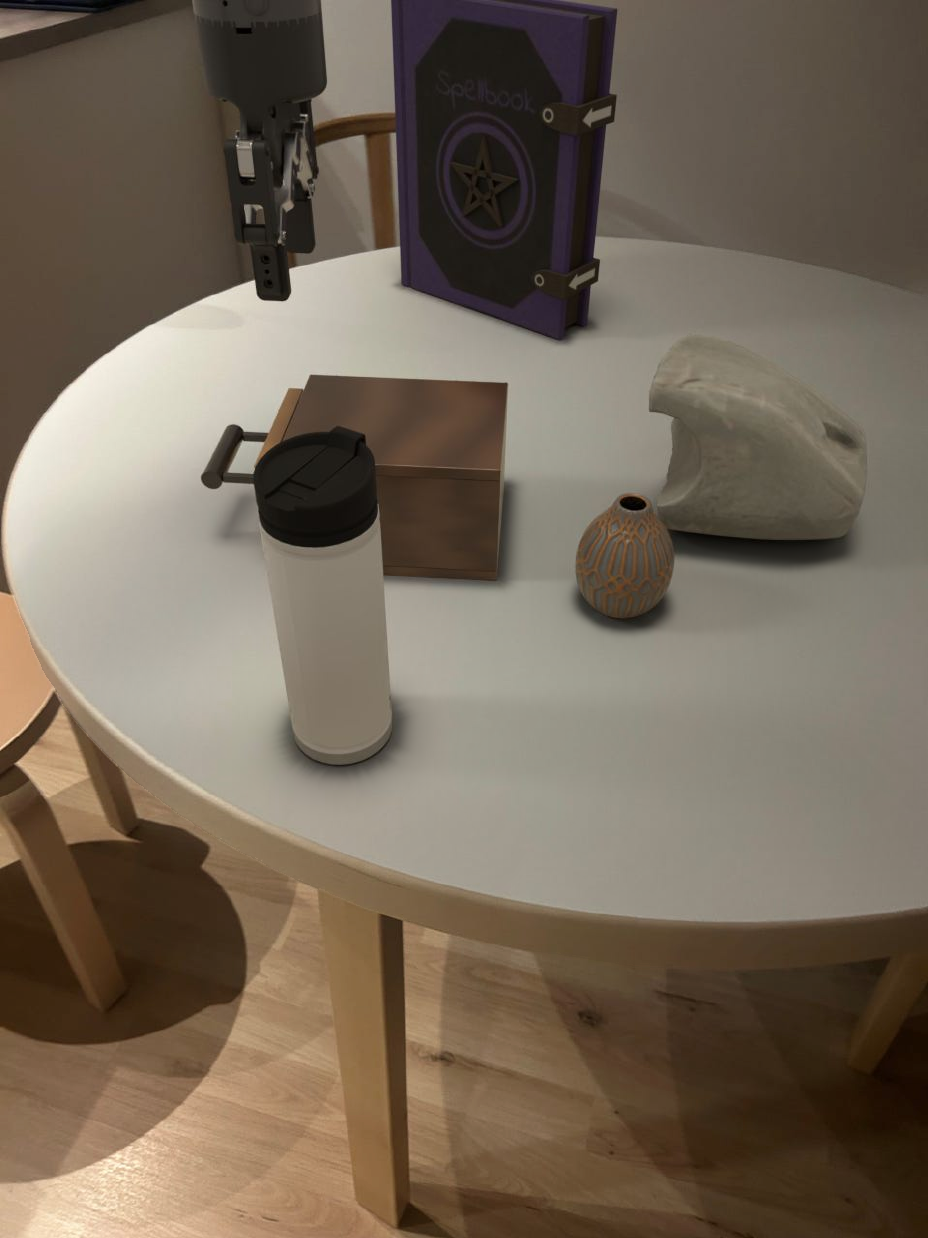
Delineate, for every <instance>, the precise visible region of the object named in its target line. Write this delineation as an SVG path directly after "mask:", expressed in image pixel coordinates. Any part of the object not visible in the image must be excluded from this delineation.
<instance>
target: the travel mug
mask: <svg viewBox="0 0 928 1238" xmlns="http://www.w3.org/2000/svg"><path fill="white" fill-rule="evenodd" d="M252 474H253V483H254V484H253V488H254V494H255V500H256V505H257V513H258V526H259V530H260V538H261V544H262V550H263V557H264V562H265V570H266V574H267V581H268V587H269V593H270V600H271V604H272V612H273V616H274V618H273V619H274V624H275V628H276V629H275V630H276V635H277V642H278V647H279V648H278V649H279V654H280V660H281V665H282V671H283V672H282V673H283V678H284V685H285V690H286V697H287V703H288V708H289V715H290V719H291V728H292V734H293V737H294V742H295V743H296V745H297V746H298V748H299V750H301V752H303V754H305V755H306V756H307V757H309V758H311V759H312V760H315V761H317V762H319V763H323V764H327V765H336V766H337V765H339V766H342V765H351V764H355V763H358V762H362V761H364V760H366V759H369V758H370V757H372V756H373V755H375V754H377V753H378V752H379V751H380V750H381V749H382V748H383V747H384V746H385V745H386V743H387V742H388V740H389V739H390V737H391V734H392V732H393V731H392V730H393V712H392V711H393V710H392V695H391V693H392V691H391V679H390V677H391V676H390V662H389V661H390V660H389V647H388V645H389V643H388V631H387V629H388V628H387V613H386V598H385V597H386V595H385V581H384V575H383V563H382V547H381V531H380V520H379V517H380V515H379V506H378V501H377V484H376V468H375V459H374V456H373V454H372V452H371V450H370V449H369V448H368V447H367V445H366V436H365V434H362V433H359V432H356V431H353V430H350V429H347V428H344V427H341V426H336V427H335V428H333V429H332V430H331V431H330V432H313V433H306V434H302V435H298V436H295V437H292V438H289V439H287V440H284V441H282V442H281V443H279V444H277V445H275V446H274V447H272V448H271V449H270V450H268V451H267V452H266V453H265V454H264V455H263V456H262V457H261V458H260V460H259V462H258V463H257V465H256V467H255V468H254V470H253V473H252Z"/></svg>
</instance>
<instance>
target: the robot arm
mask: <svg viewBox="0 0 928 1238" xmlns="http://www.w3.org/2000/svg"><path fill="white" fill-rule="evenodd" d="M191 2H192V10H193V17H194V23H195V29H196V35H197V41H198V42H197V43H198V50H199V55H200V62H201V69H202V75H203V81H204V82H203V83H204V87H205V89H206V91H207V93H208V94H209V95H210V96H211V97H212V98H214V99H216V100H218V101H220V102H225V103H226V102H229V103H231V104H232V105H234V106H235V108H237V109H238V113H239V116H238V126H239V130H237V129H236V130H235V133H234V138H225V139H224V142H223V147H222V149H223V151H222V152H223V154H224V160H225V168H226V177H227V184H228V193H229V199H230V200H229V201H230V207H231V215H232V223H233V236H234V238H235V242H236V244H237V245H249V249H250V254H251V263H252V270H253V277H254V285H255V290H256V296H257V298H258V299H259V300H261V301H265V302H286V301H288V300H289V298H290V297H291V294H292V283H291V276H290V275H291V274H290V267H289V257H288V253H290V254H305V255H308V254H309V255H310V254H311V253H313V252H314V251H315V248H316V246H317V245H316V235H315V223H314V222H315V221H314V213H313V204H312V203H313V202H312V198H313V197H314V193H315V191H316V185H315V183H314V180H318V175H319V174H320V173H319V172H320V168H319V166H318V158H317V148H316V138H315V129H314V117H313V108H312V100H313V99H315V98H317V97H318V96H320V95H321V94H323V92H324V91H325V90H326V88H327V85H328V74H327V62H326V61H327V60H326V50H325V36H324V35H325V34H324V23H323V10H322V0H191ZM260 209H262V210H263V218H264V223H257V213H258V211H259V210H260Z"/></svg>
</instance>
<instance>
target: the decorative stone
mask: <svg viewBox="0 0 928 1238" xmlns="http://www.w3.org/2000/svg"><path fill="white" fill-rule="evenodd" d="M654 374H655V375H654V376H653V379H652V381H651V386H650V388H649V391H648V412H650V413H657V414H663V415H665V416H668V417H671V418H672V420H671V422H670V423H671V424H670V432H671V433H670V434H671V444H672V445H671V446H672V447H671V456H670V460H669V464H668V467H667V474H666V483H665V485H664V486H663V488H662V490H661V491H660V494H659V497H658V498H657V514H658V518H659V519H660V520H661V522H662V523H663V524H664V526H665V527H666V529H667V530H672V531H680V532H687V533H696V534H703V535H711V536H720V537H728V538H729V537H730V538H741V539H755V540H769V541H770V540H773V541H806V540H807V541H810V540H830V539H838V538H842V537H843V536H845V535H846V534H847V533H848V532H849V530H850V529H851V528H852V526H853V525H854V523H856V520H857V518H858V516H859V514H860V511H861V508H862V505H863V502H864V498H865V494H866V487H867V478H868V443H867V441H868V440H867V433H866V430H865V428H864V427H863V426H862V425H860V423H858V422H857V421H856V420H855V419H854V418H853V417H851V416H850V415H849V414H848V413H847V412H846V411H844V409H842V408H841V407H840V406H839V405H837V404H836V403H834V402H833V400H831V399H830V398H828V397H826V395H824V394H822V393H821V392H820V391H818V390H817V389H815V388H814V387H813V386H811V385H810V384H808V383H807V382H805V381H804V380H802V379H801V378H799V377H798V376H796V375H795V374H793V373H791V372H790V371H788V370H787V369H785V368H784V367H782V366H780V365H778V364H777V363H775V362H773V361H772V360H770V359H769V358H766V357H765V356H764V355H761V354H759V353H758V352H756V351H754V350H752V349H750V348H747V347H745V346H744V345H741V344H739V343H736V342H734V341H730V340H726V339H722V338H719V337H714V336H711V335H705V334H700V333H692V334H688V335H686V336H684V337H682V338H680V339H679V340H677V341H676V342H675V343H673V344H672V346H671V347H670V348H669V349H668V352H666V353H665V354H664V355H663V356H662V358H660V361H659V363H658V365H657V369H656V373H654Z"/></svg>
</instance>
